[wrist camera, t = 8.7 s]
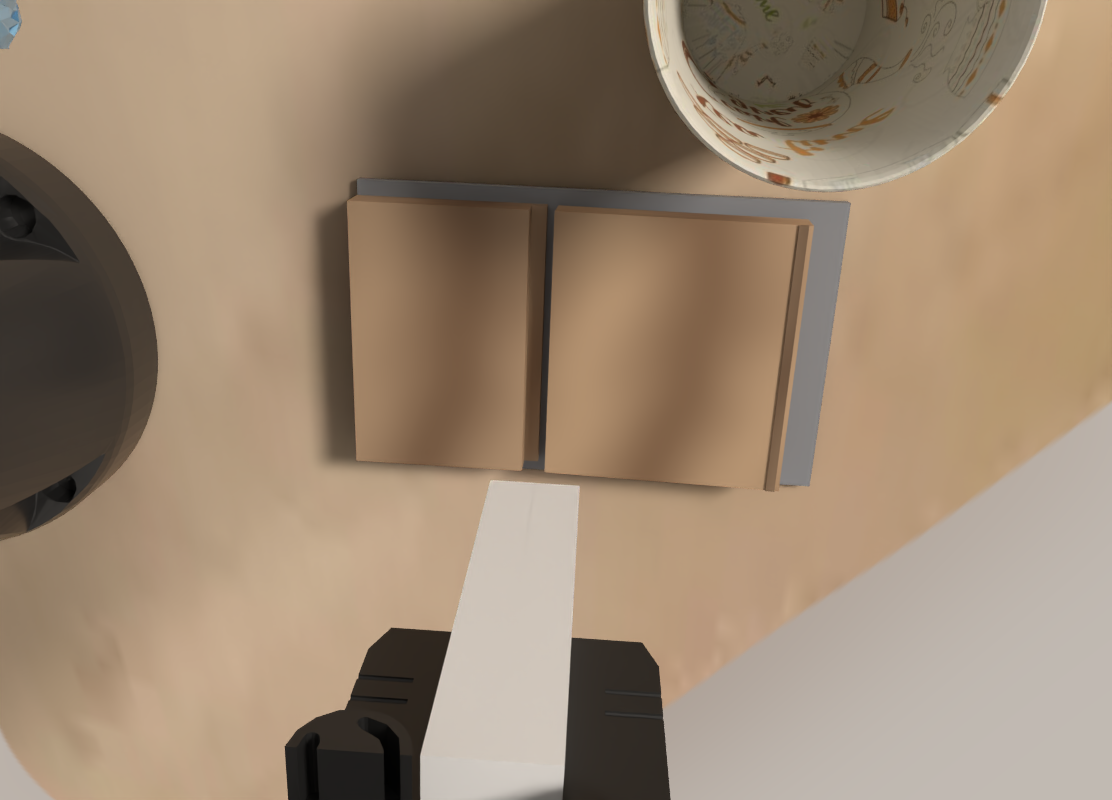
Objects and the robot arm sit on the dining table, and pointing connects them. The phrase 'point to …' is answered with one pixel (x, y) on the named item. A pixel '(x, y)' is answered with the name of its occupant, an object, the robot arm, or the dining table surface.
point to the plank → (673, 344)
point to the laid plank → (447, 330)
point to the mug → (837, 80)
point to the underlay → (821, 213)
